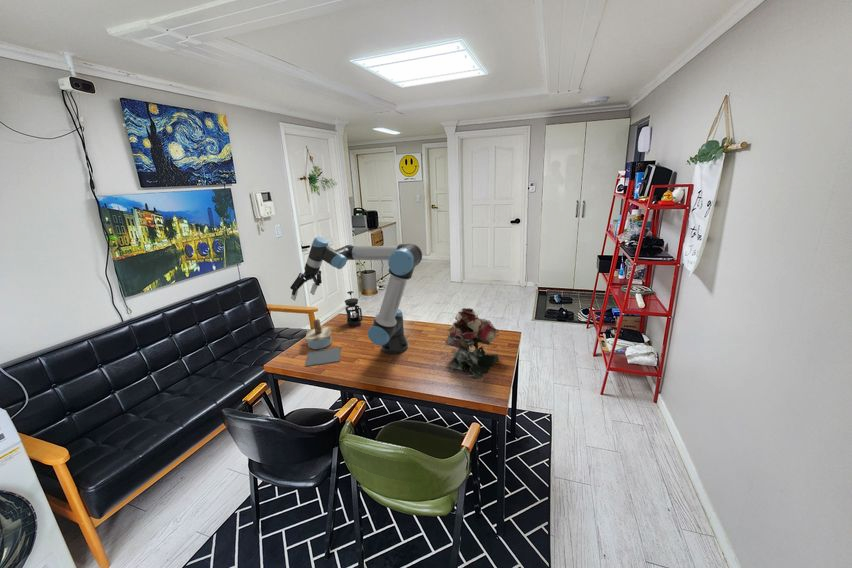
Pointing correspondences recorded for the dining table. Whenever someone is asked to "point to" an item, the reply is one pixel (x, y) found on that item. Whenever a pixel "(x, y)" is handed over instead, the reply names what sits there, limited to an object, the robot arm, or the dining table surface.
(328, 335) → the lid
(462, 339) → the rose bouquet
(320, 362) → the mat
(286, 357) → the dining table surface
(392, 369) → the dining table surface
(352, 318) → the french press
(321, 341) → the bowl
